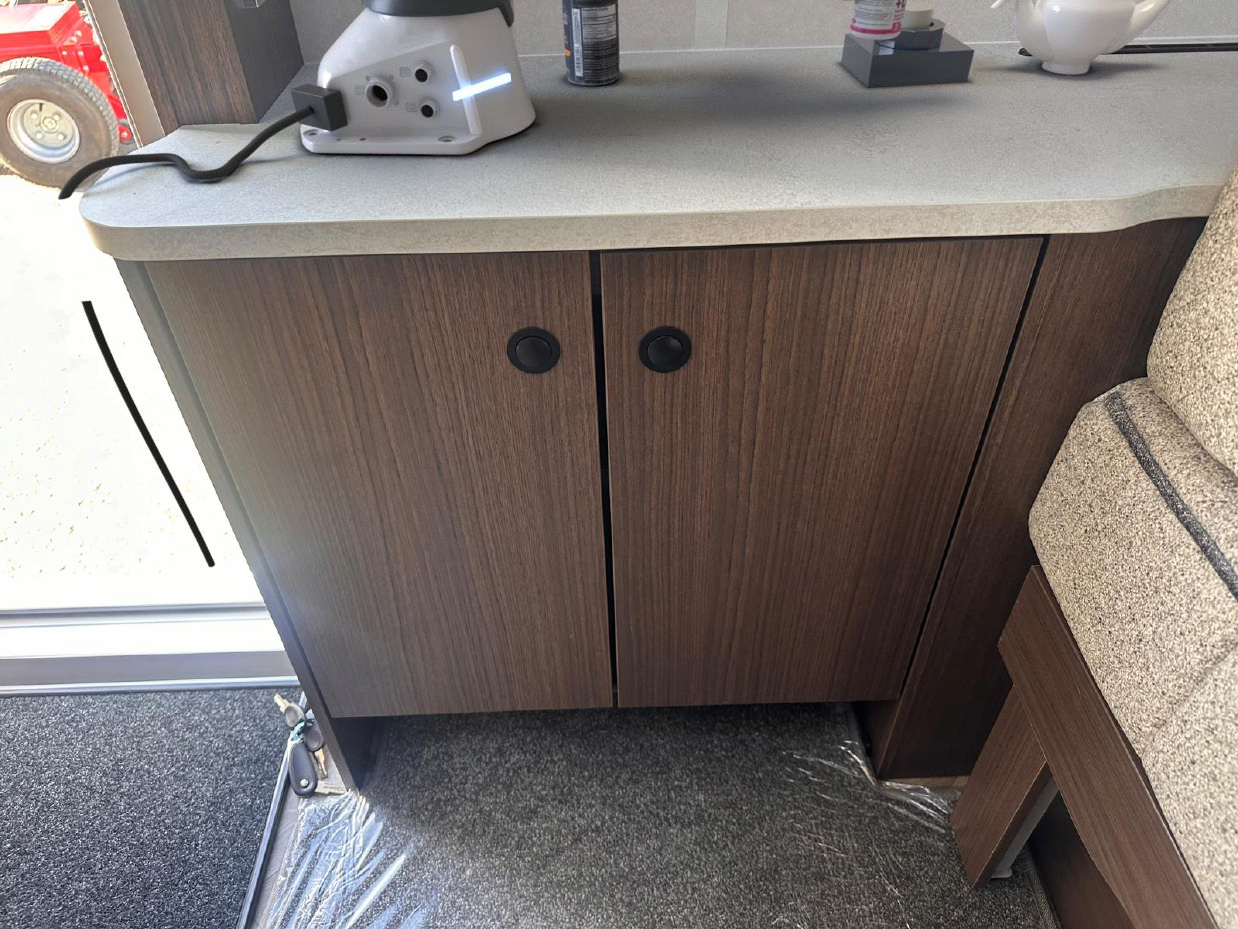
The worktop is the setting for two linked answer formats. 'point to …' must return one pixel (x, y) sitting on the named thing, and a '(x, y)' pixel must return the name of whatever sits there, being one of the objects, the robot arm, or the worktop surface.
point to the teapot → (1079, 29)
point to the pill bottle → (877, 18)
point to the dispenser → (908, 58)
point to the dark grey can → (591, 41)
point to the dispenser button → (917, 15)
